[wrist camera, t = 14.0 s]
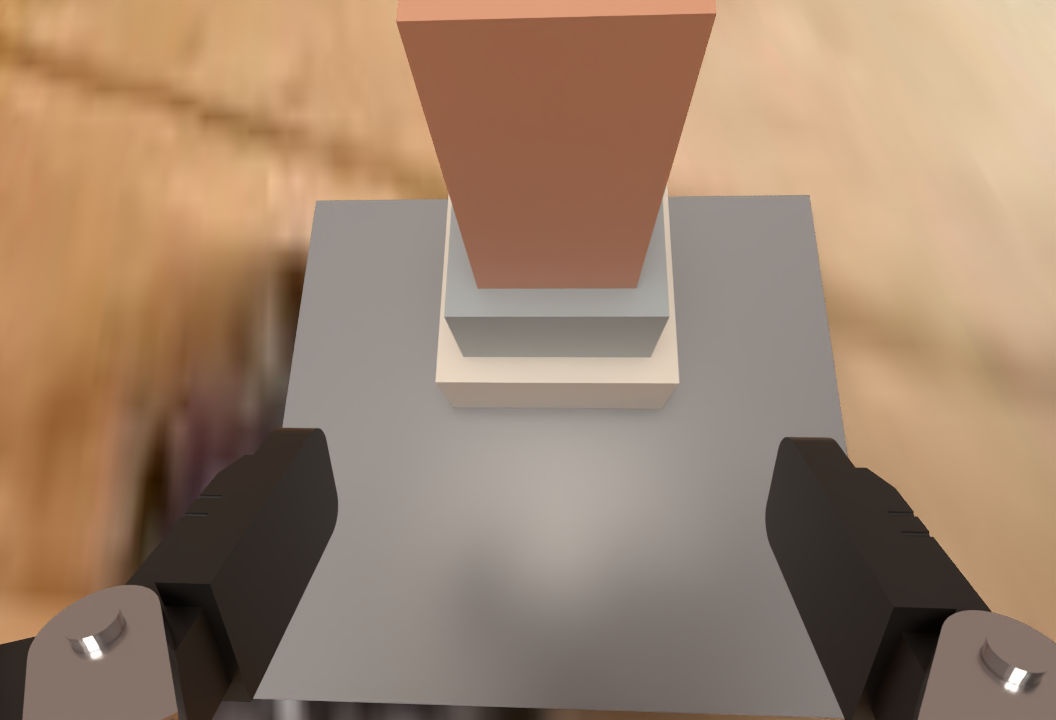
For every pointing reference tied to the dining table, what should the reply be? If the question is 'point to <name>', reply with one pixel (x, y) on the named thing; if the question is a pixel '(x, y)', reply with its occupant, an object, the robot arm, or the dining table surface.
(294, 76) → the dining table surface
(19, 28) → the dining table surface
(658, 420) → the baseplate
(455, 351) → the tower base
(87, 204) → the dining table surface
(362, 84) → the dining table surface
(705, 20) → the terracotta brick
